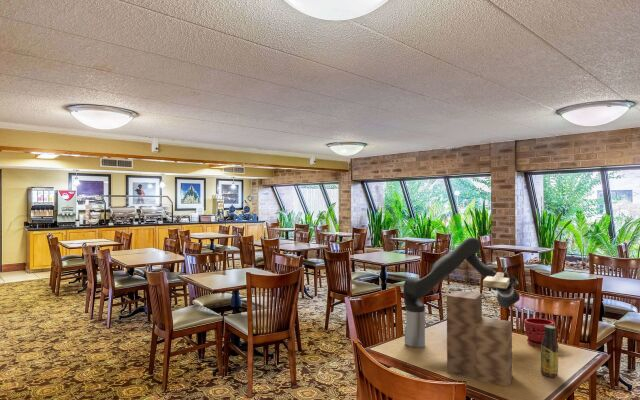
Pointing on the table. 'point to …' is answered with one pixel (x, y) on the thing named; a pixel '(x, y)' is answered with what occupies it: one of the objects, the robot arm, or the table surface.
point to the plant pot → (536, 330)
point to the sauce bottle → (549, 353)
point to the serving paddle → (496, 281)
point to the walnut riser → (477, 341)
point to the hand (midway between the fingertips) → (499, 274)
